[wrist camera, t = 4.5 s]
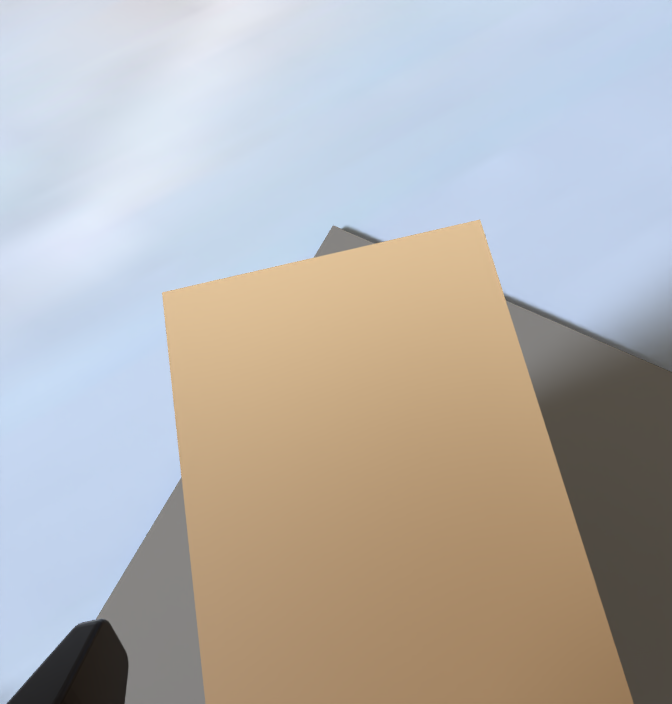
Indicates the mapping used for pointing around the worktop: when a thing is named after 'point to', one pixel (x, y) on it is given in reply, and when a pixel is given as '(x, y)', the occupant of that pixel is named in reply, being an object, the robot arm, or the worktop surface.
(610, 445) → the mat
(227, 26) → the worktop surface
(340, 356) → the board
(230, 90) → the worktop surface
